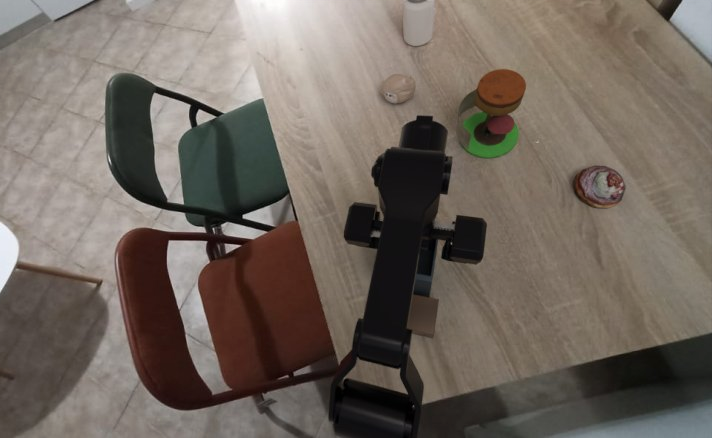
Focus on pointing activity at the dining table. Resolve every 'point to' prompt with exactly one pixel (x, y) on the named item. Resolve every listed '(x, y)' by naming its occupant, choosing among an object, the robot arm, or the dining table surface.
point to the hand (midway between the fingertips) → (411, 250)
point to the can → (418, 21)
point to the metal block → (423, 315)
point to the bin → (425, 269)
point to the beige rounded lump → (398, 88)
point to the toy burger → (491, 114)
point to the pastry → (599, 186)
